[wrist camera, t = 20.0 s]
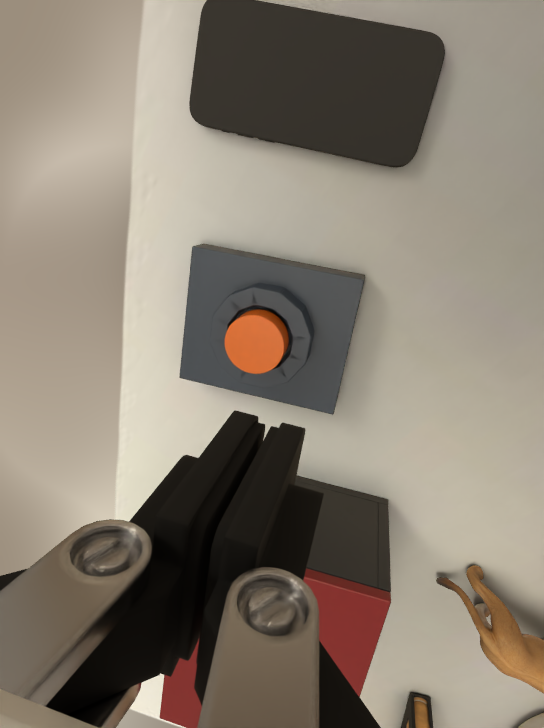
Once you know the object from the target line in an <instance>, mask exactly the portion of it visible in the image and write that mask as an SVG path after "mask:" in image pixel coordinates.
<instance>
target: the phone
mask: <svg viewBox="0 0 544 728" xmlns="http://www.w3.org/2000/svg"><path fill="white" fill-rule="evenodd" d="M444 54H445V49H444V44H443V42H442V40H441V39H440V38H439V37H438V36H437V35H435V34H433V33H431V32H427V31H422V30H416V29H411V28H405V27H400V26H394V25H389V24H383V23H378V22H372V21H367V20H361V19H356V18H350V17H345V16H339V15H334V14H328V13H323V12H317V11H312V10H306V9H301V8H295V7H290V6H284V5H279V4H273V3H268V2H262V1H257V0H207V1H206V2H205V4H204V6H203V9H202V12H201V18H200V25H199V32H198V40H197V47H196V55H195V63H194V71H193V78H192V86H191V94H190V112H191V115H192V117H193V118H194V120H195V121H196V122H198V123H199V124H201V125H203V126H206V127H209V128H213V129H218V130H222V131H224V132H228V133H230V132H232V133H236V134H238V135H242V136H246V137H251V138H254V137H255V138H258V139H260V140H265V141H269V142H278V143H282V144H287V145H292V146H296V147H301V148H306V149H310V150H315V151H319V152H324V153H329V154H333V155H338V156H342V157H347V158H352V159H356V160H361V161H366V162H370V163H375V164H379V165H384V166H389V167H401V166H404V165H406V164H408V163H409V162H410V161H411V160H412V159H413V157H414V156H415V154H416V152H417V149H418V146H419V143H420V139H421V136H422V133H423V129H424V126H425V122H426V119H427V116H428V112H429V109H430V105H431V102H432V99H433V95H434V92H435V88H436V85H437V82H438V78H439V75H440V71H441V68H442V64H443V60H444Z"/></svg>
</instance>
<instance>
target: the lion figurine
mask: <svg viewBox="0 0 544 728" xmlns="http://www.w3.org/2000/svg"><path fill="white" fill-rule="evenodd" d="M466 575H467V578H468V580H469V582H470V584H471V586H472V588H473V589H474V590H475V591H476V592H477V593H478V594H479V595H480V596H481V598H482V599H483V600H484V602H485V604H484V603H480V604H477V605H476V606H475V607H474V605H473V604H472V602H471V601H470V599H469V598H468V596H467V595H466V594H465V592H464V591H463V590H462V589H461V588H460V587H459V586H457V585H456V584H454V583H453V582H452V581H450V580H449V579H448V578H443V577H439V578H437V579H436V581H437V583H438V584H440V585H442V586H444V587H446V588H448V589H451V590H453V591H455V592H456V593H457V594H458V595H459V596H460V597H461V599H462V600H463V602H464V604H465V605H466V607H467V609H468V611H469V613H470V615H471V617H472V620H473V622H474V624H475V626H476V628H477V630H478V632H479V634H480V645H481V648H482V650H483V652H484V654H485V655H486V657H487V658H488V659H489V660H490V661H491V662H492V663H493V664H494V665H495V666H496V667H497V668H498V669H499V670H500V671H501V672H502V673H504V674H506V675H508V676H511V677H514V678H517V679H520V680H522V681H524V682H526V683H528V684H529V685H531V686H532V687H534V688H536V689H537V690H539V691H540V692H542V693H544V638H543V640H542V639H540V638H538V637H535V636H532V635H528V634H521V631H520V629H519V627H518V624H517V622H516V621H515V619H514V618H513V616H512V615H511V613H510V612H509V610H508V609H507V607H506V606H505V605H504V603H503V602H502V601H501V600H500V599H499V598H498V597H497V596H496V595H495V594H493V593H492V592H491V591H490V590H489V589H488V588H487V587H486V586H485V585H484V584H483V583H482V582H481V581H480V580H482V579H483V571H482V569H481V568H480V567H479V566H475V565H473V566H471V567H469V569H468V570H467V574H466ZM490 614H491V625H492V626H491V625H490V624H489V623H488V621H487V619H486V617H488V616H489V615H490Z"/></svg>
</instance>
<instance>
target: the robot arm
mask: <svg viewBox="0 0 544 728" xmlns="http://www.w3.org/2000/svg"><path fill="white" fill-rule="evenodd" d="M264 432H265V424H261V423H258V416H255V415H251V414H247V413H243V412H239V411H234V412H233V413H232V414H231V416H230V417H229V418H228V420H227V421H226V422H225V424H224V425H223V426H222V428H221V429H220V430H219V432H218V433H217V434H216V436H215V437H214V438H213V440H212V441H211V442H210V444H209V445H208V446H207V448H206V449H205V450H204V452H203V453H202V454H201V456H200V457H199V458H196V457H192V456H189V455H184V456H183V457H182V458H181V459H180V460H179V461H178V462H177V464H176V465H175V466H174V467H173V469H172V470H171V471H170V472H169V474H168V475H167V476H166V477H165V478H164V480H163V481H162V482H161V483H160V485H159V486H158V487H157V488H156V489H155V491H154V492H153V493H152V494H151V496H150V497H149V498H148V499H147V501H146V502H145V503H144V504H143V505H142V507H141V508H140V509H139V510H138V512H137V513H136V514H135V515H134V516H133V518H132V519H131V520H130V521H129V522H127V521H124V520H103V521H96V522H93V523H91V524H88V525H85V526H83V527H81V528H80V529H78V530H76V531H75V532H73V533H72V534H71V535H69V536H68V537H67V538H66V539H64V540H63V541H62V542H61V543H59V544H58V545H57V546H56V547H54V548H53V549H52V550H51V551H49V552H48V553H47V554H46V555H44V556H43V557H42V558H41V559H39V560H38V561H37V562H36V563H35V564H33V565H32V566H31V567H30V568H28V569H25V570H21V571H17V572H13V573H10V574H6V575H2V576H0V728H116V727H117V725H118V724H119V722H120V721H121V719H122V718H123V716H124V715H125V714H126V712H127V711H128V709H129V708H130V706H131V705H132V704H133V702H134V701H135V699H136V697H137V695H138V693H139V691H140V688H141V682H144V681H146V680H148V679H151V678H153V677H155V676H158V675H159V674H160V673H161V674H164V675H167V676H169V677H171V676H172V674H173V672H174V669H175V667H176V665H177V663H178V661H179V659H180V658H181V659H183V660H186V661H188V660H189V659H190V658H191V656H192V654H193V651H194V649H195V647H196V645H197V642H198V640H199V644H198V652H197V659H196V664H197V669H196V676H195V683H194V689H195V691H196V694H197V696H198V698H199V701H200V703H201V706H202V709H201V713H200V718H199V722H198V727H197V728H381V727H380V726H379V725H378V723H377V722H376V720H375V719H374V718H373V716H372V715H371V713H370V712H369V710H368V709H367V708H366V706H365V705H364V703H363V702H362V700H361V699H360V698H359V696H358V695H357V693H356V692H355V690H354V689H353V688H352V686H351V685H350V683H349V682H348V680H347V679H346V678H345V676H344V675H343V673H342V672H341V671H340V669H339V668H338V666H337V665H336V663H335V662H334V661H333V659H332V658H331V656H330V655H329V653H328V652H327V651H326V649H325V648H324V646H323V645H322V643H321V642H320V641H319V609H318V603H317V599H316V597H315V595H314V594H313V592H312V590H311V588H310V587H309V586H308V585H307V584H306V583H305V582H304V581H303V580H304V576H305V572H306V568H307V564H308V559H309V555H310V551H311V547H312V543H313V538H314V534H315V530H316V526H317V521H318V517H319V513H320V508H321V504H322V500H323V496H324V493H322V492H318V491H315V490H311V489H308V488H304V487H300V486H297V485H294V484H295V479H296V474H297V469H298V464H299V459H300V455H301V450H302V445H303V440H304V435H305V428H302V427H298V426H294V425H290V424H286V423H281V425H280V427H279V428H277V427H273V426H271V428H270V430H269V432H268V433H267V435H266V437H265V439H264V441H263V438H264Z"/></svg>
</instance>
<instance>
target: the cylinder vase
mask: <svg viewBox="0 0 544 728" xmlns="http://www.w3.org/2000/svg"><path fill="white" fill-rule="evenodd" d="M518 728H544V713H542V714H539V715H536V716H534V717H532V718H530V719H528V720H527V721H525V722H524V723H522V724H521V725H520V726H519V727H518Z"/></svg>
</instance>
